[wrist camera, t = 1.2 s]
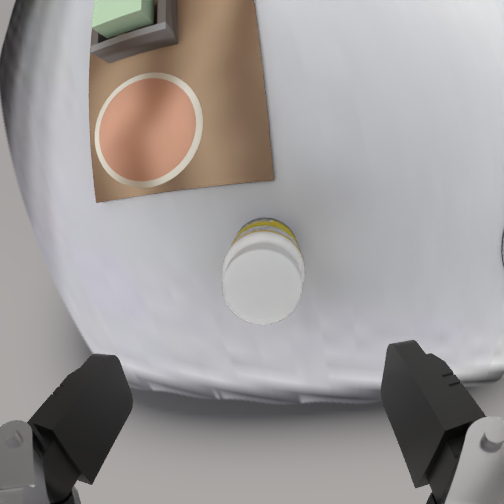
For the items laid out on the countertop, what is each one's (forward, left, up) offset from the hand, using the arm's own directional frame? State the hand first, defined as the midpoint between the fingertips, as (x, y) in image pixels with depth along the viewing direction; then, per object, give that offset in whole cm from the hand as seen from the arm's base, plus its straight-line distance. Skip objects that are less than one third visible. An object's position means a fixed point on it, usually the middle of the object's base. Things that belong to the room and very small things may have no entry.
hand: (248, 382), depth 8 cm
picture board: (+6, -15, -15) cm, 22 cm away
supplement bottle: (0, 0, -16) cm, 16 cm away
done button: (+8, -20, -12) cm, 24 cm away
